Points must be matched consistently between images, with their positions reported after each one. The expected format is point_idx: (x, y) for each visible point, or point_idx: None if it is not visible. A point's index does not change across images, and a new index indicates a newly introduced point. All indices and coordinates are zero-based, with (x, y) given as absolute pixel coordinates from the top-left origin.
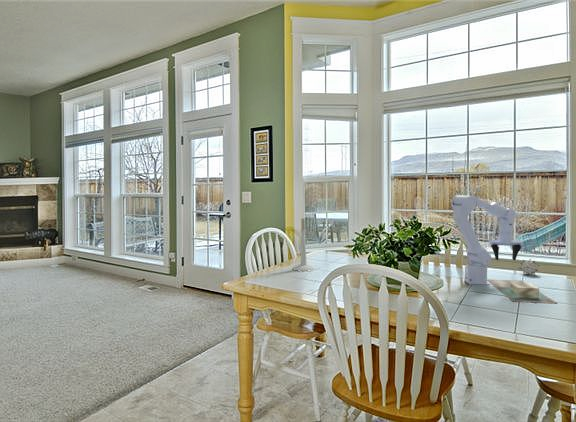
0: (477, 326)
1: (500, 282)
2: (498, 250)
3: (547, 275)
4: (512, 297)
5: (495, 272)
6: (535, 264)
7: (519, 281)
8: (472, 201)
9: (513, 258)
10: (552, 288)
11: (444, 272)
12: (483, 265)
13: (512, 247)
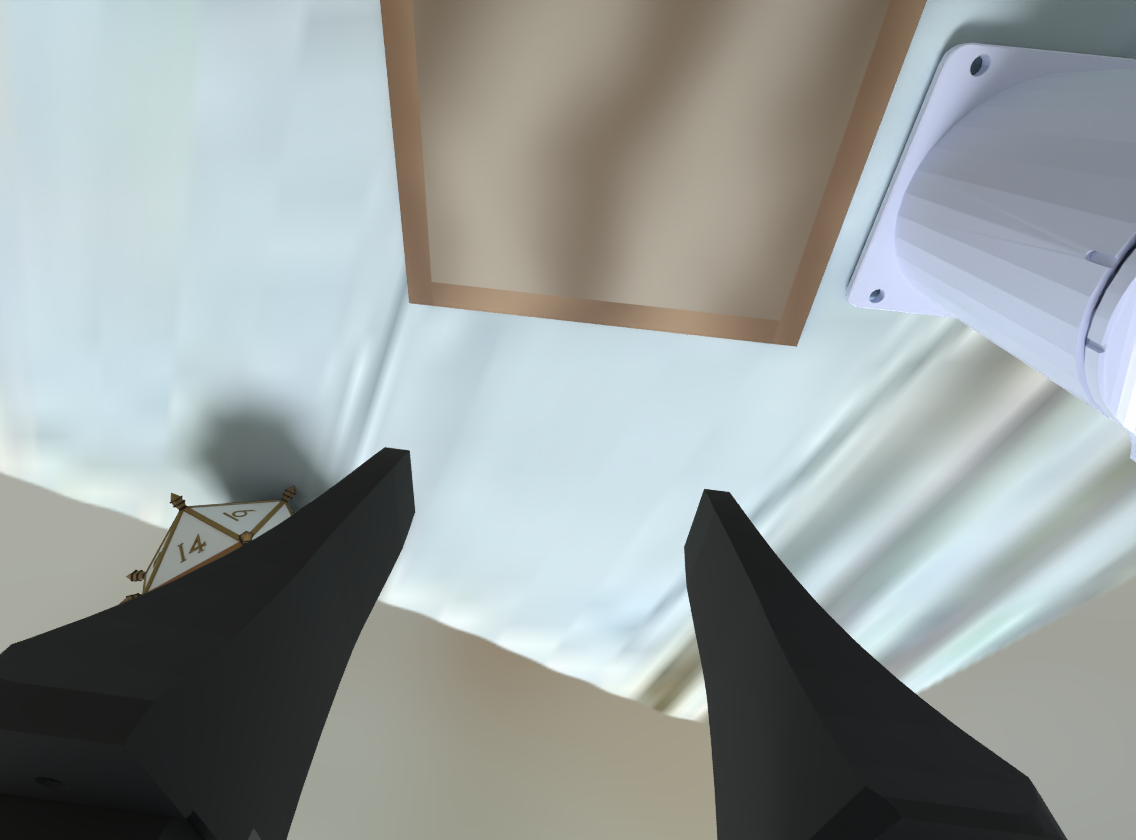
0: None
1: (699, 203)
2: (795, 669)
3: (132, 489)
4: None
5: (537, 575)
6: (151, 573)
7: (440, 262)
8: None
9: (401, 494)
10: None
11: (1018, 591)
12: None
13: (294, 789)
